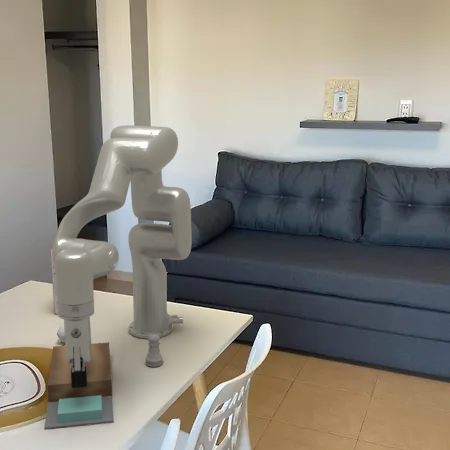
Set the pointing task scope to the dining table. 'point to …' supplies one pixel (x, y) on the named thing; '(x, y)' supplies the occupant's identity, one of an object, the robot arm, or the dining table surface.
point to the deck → (95, 369)
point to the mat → (53, 423)
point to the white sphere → (61, 333)
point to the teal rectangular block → (79, 408)
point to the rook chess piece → (154, 351)
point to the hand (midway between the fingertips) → (79, 385)
